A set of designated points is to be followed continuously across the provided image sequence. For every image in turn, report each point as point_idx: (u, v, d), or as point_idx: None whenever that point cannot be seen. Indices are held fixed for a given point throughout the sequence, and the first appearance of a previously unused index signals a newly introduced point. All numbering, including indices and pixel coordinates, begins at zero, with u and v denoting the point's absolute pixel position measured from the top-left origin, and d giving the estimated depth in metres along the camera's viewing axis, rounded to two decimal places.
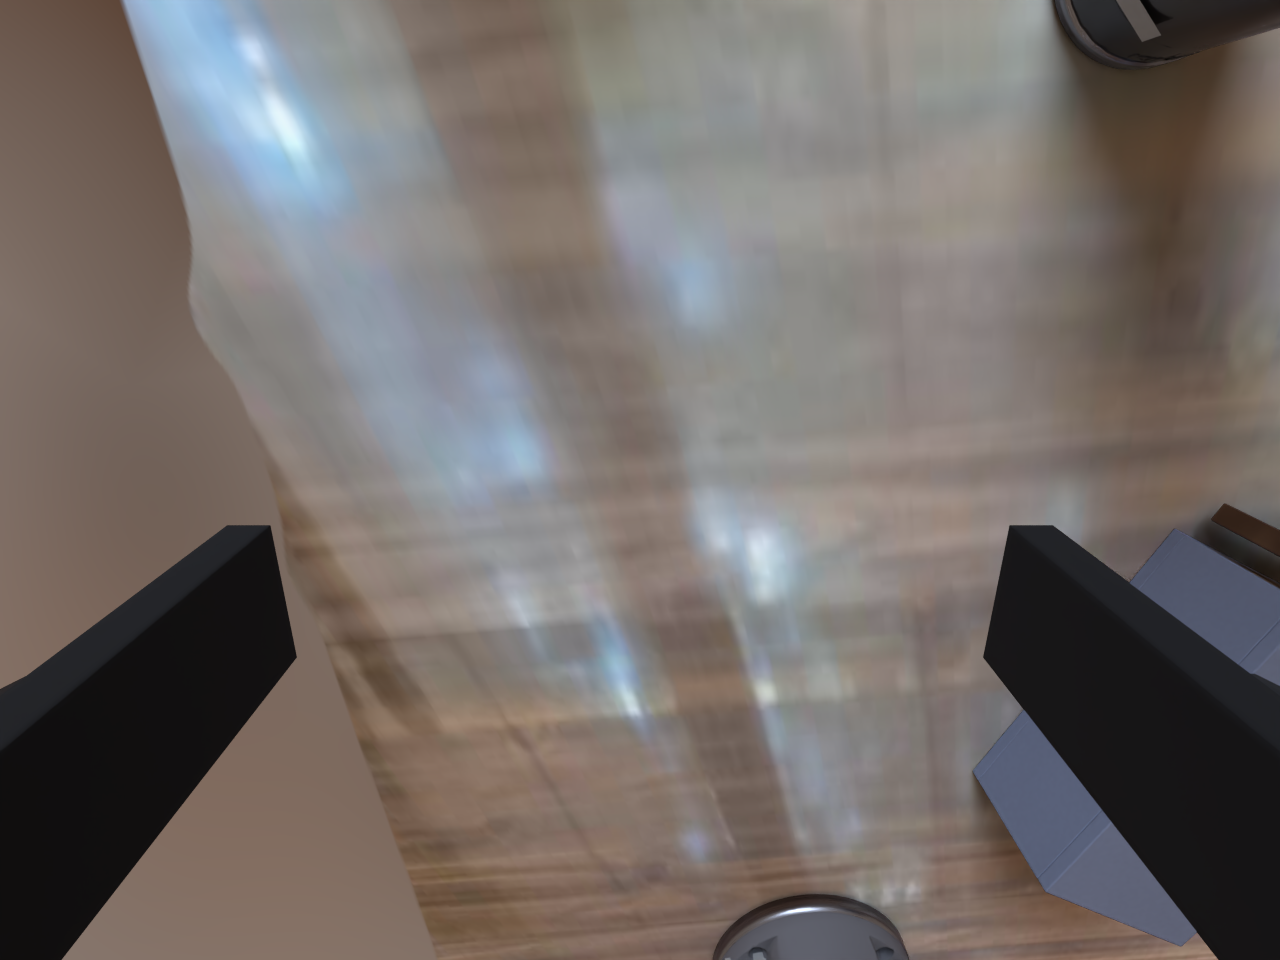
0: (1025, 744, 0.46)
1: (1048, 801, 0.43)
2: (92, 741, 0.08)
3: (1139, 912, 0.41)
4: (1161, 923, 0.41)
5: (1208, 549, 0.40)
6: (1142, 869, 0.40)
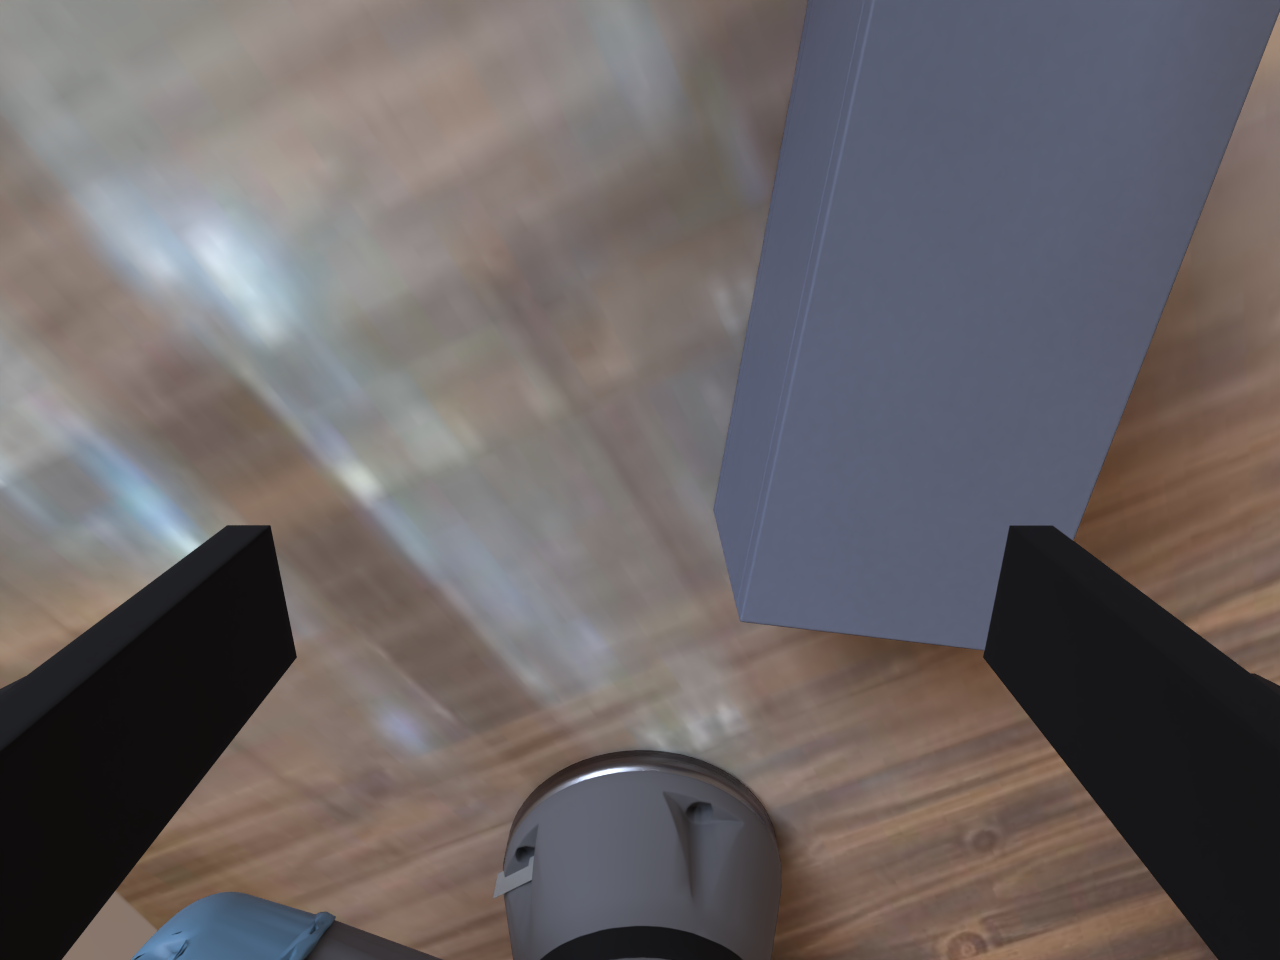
0: (735, 431, 0.29)
1: (743, 488, 0.26)
2: (92, 741, 0.08)
3: (918, 612, 0.24)
4: (969, 623, 0.24)
5: None
6: (879, 532, 0.23)
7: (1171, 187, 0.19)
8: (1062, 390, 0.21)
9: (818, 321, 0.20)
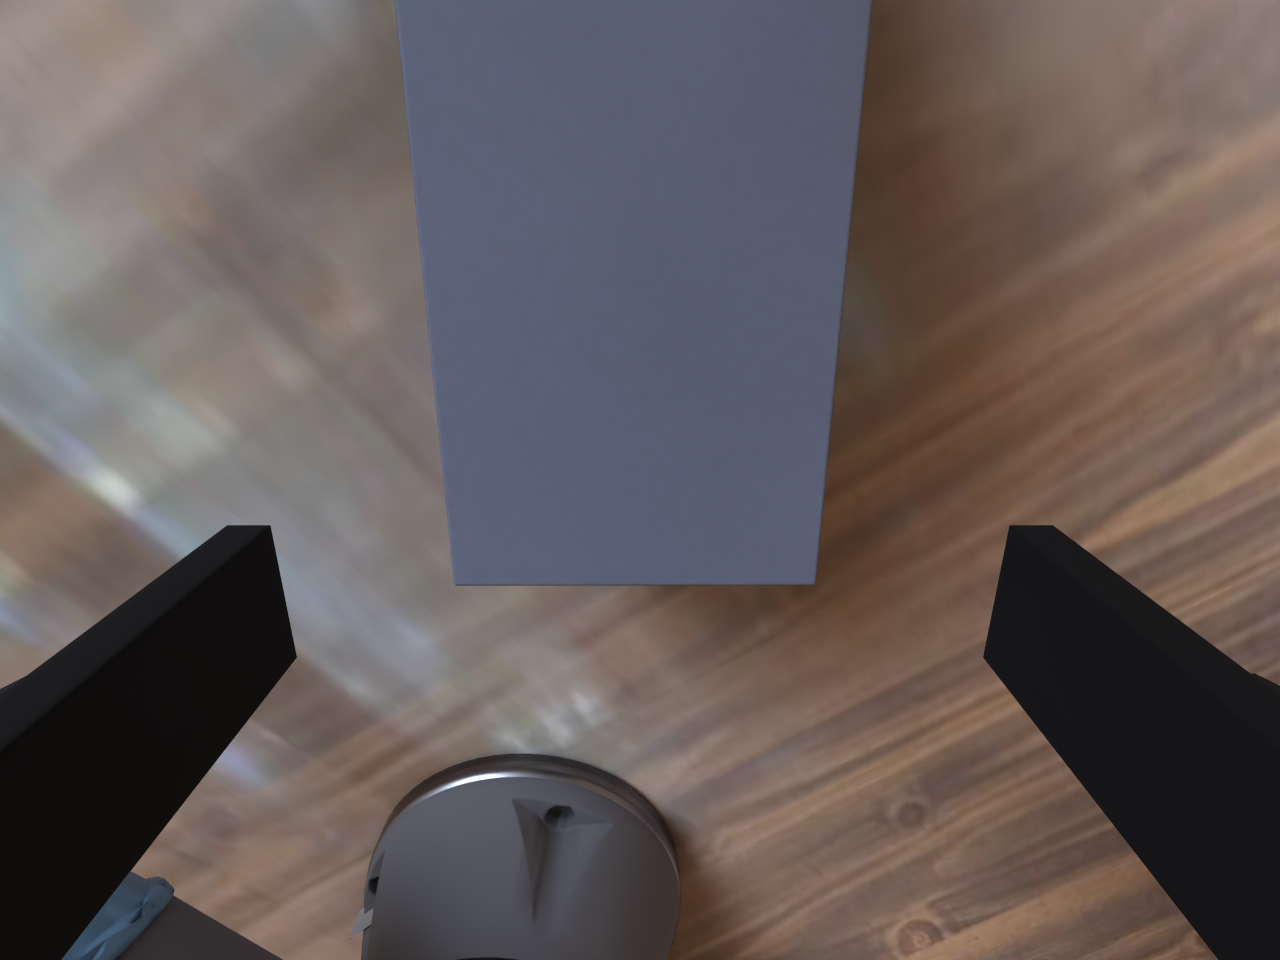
0: None
1: None
2: (92, 741, 0.08)
3: (664, 547, 0.19)
4: (731, 554, 0.19)
5: None
6: (587, 454, 0.18)
7: None
8: (761, 240, 0.17)
9: (431, 193, 0.16)
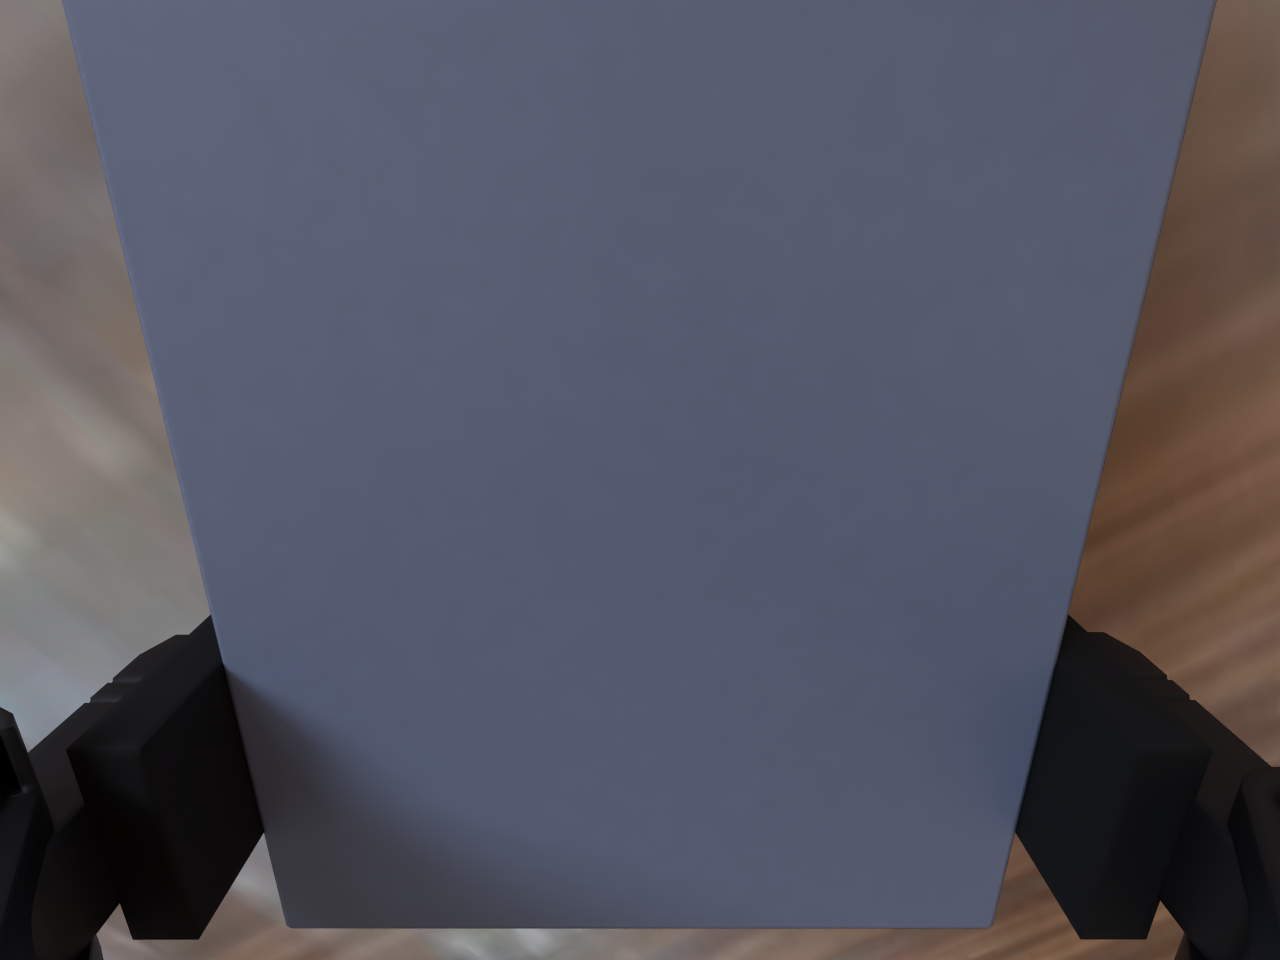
0: None
1: None
2: None
3: (699, 869, 0.10)
4: (830, 879, 0.10)
5: None
6: (540, 706, 0.09)
7: None
8: (944, 260, 0.07)
9: (136, 146, 0.07)
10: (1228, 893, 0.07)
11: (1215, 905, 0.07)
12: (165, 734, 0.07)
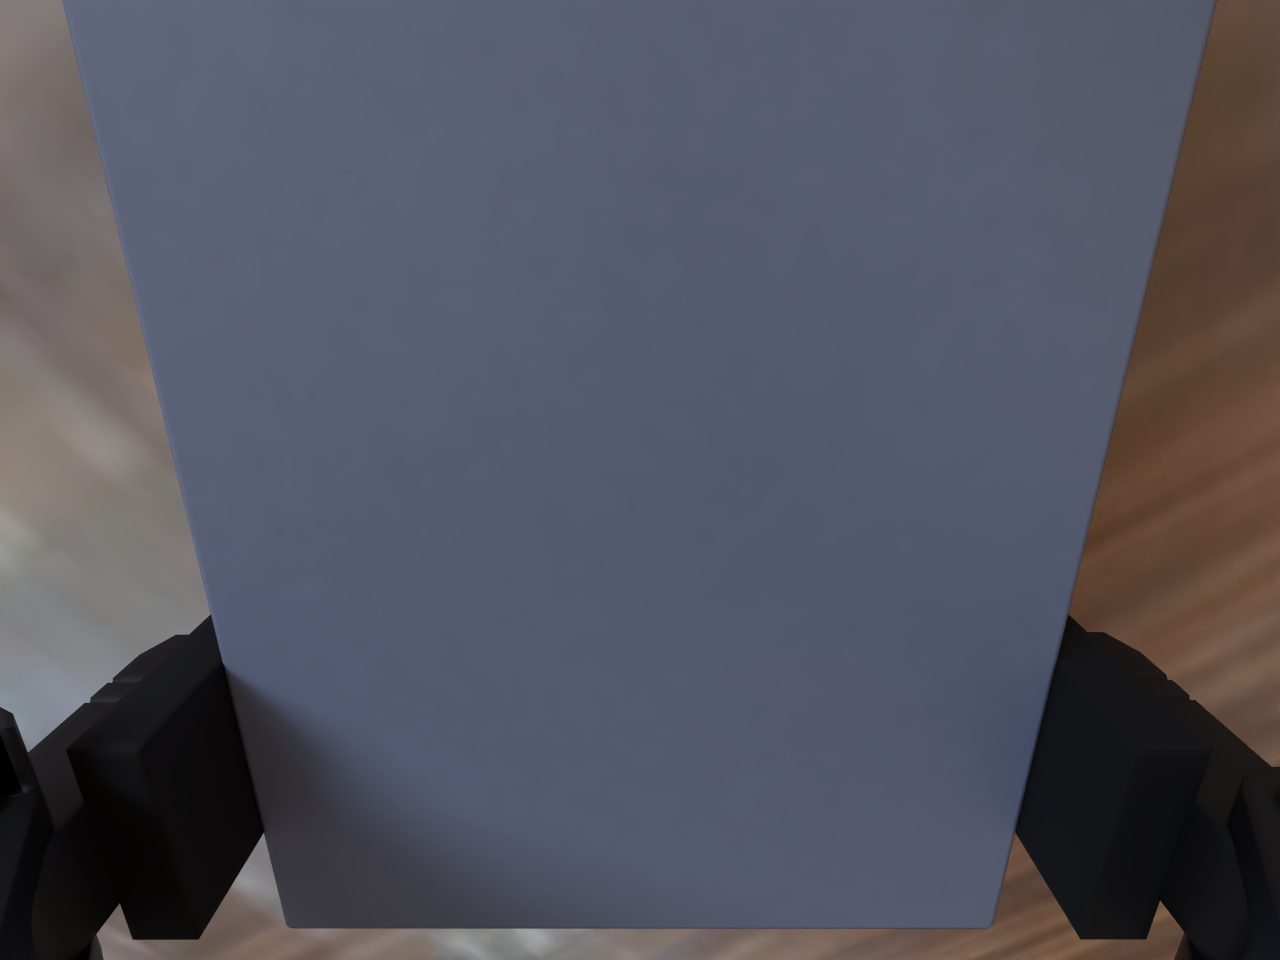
0: None
1: None
2: None
3: (699, 869, 0.10)
4: (830, 879, 0.10)
5: None
6: (540, 706, 0.09)
7: None
8: (944, 260, 0.07)
9: (138, 145, 0.07)
10: (1228, 893, 0.07)
11: (1215, 905, 0.07)
12: (165, 734, 0.07)
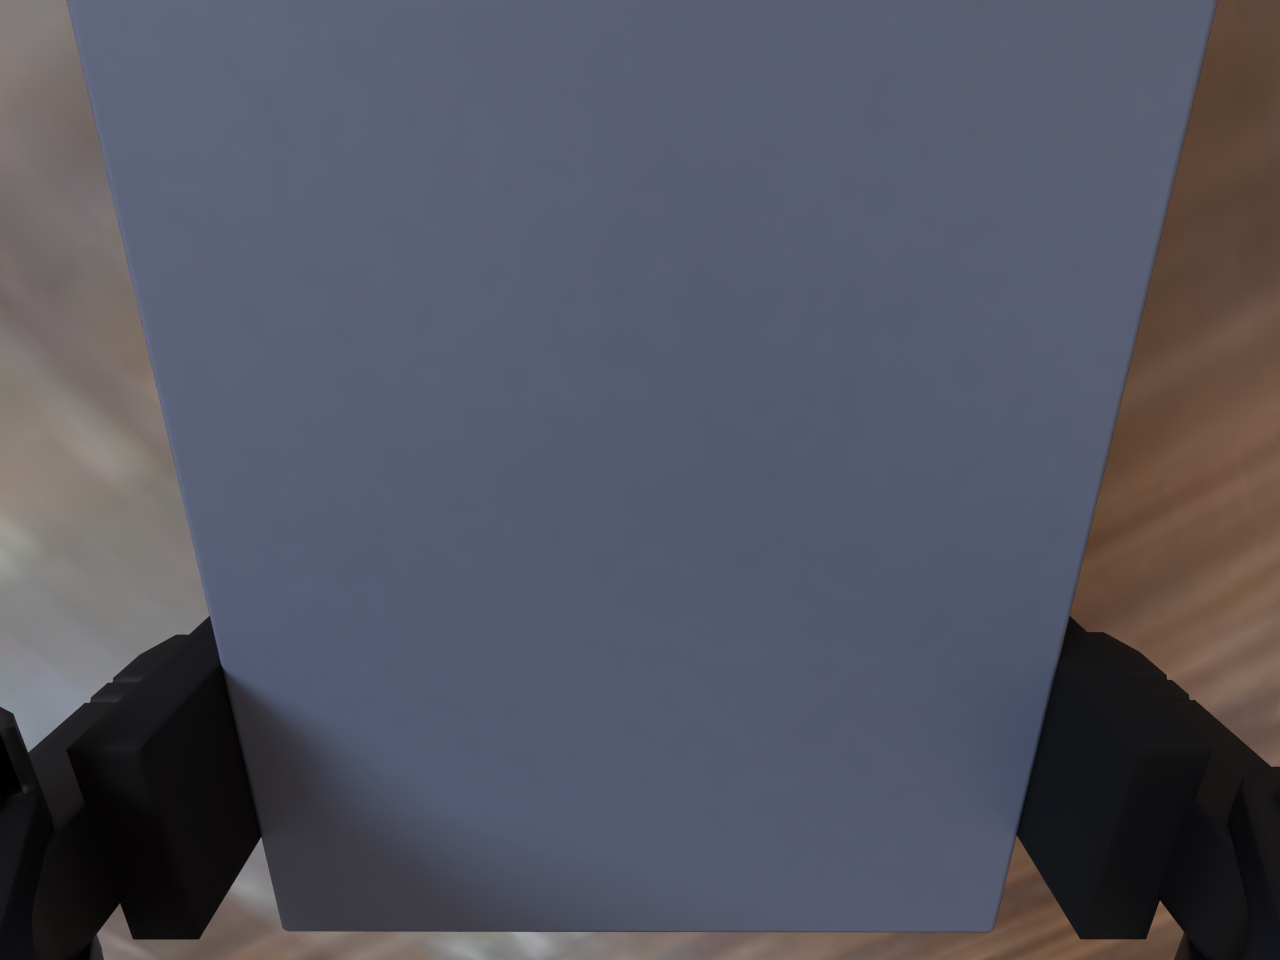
0: None
1: None
2: None
3: (699, 871, 0.10)
4: (831, 882, 0.10)
5: None
6: (540, 706, 0.09)
7: None
8: (947, 258, 0.07)
9: (139, 140, 0.07)
10: (1228, 893, 0.07)
11: (1215, 905, 0.07)
12: (165, 733, 0.07)
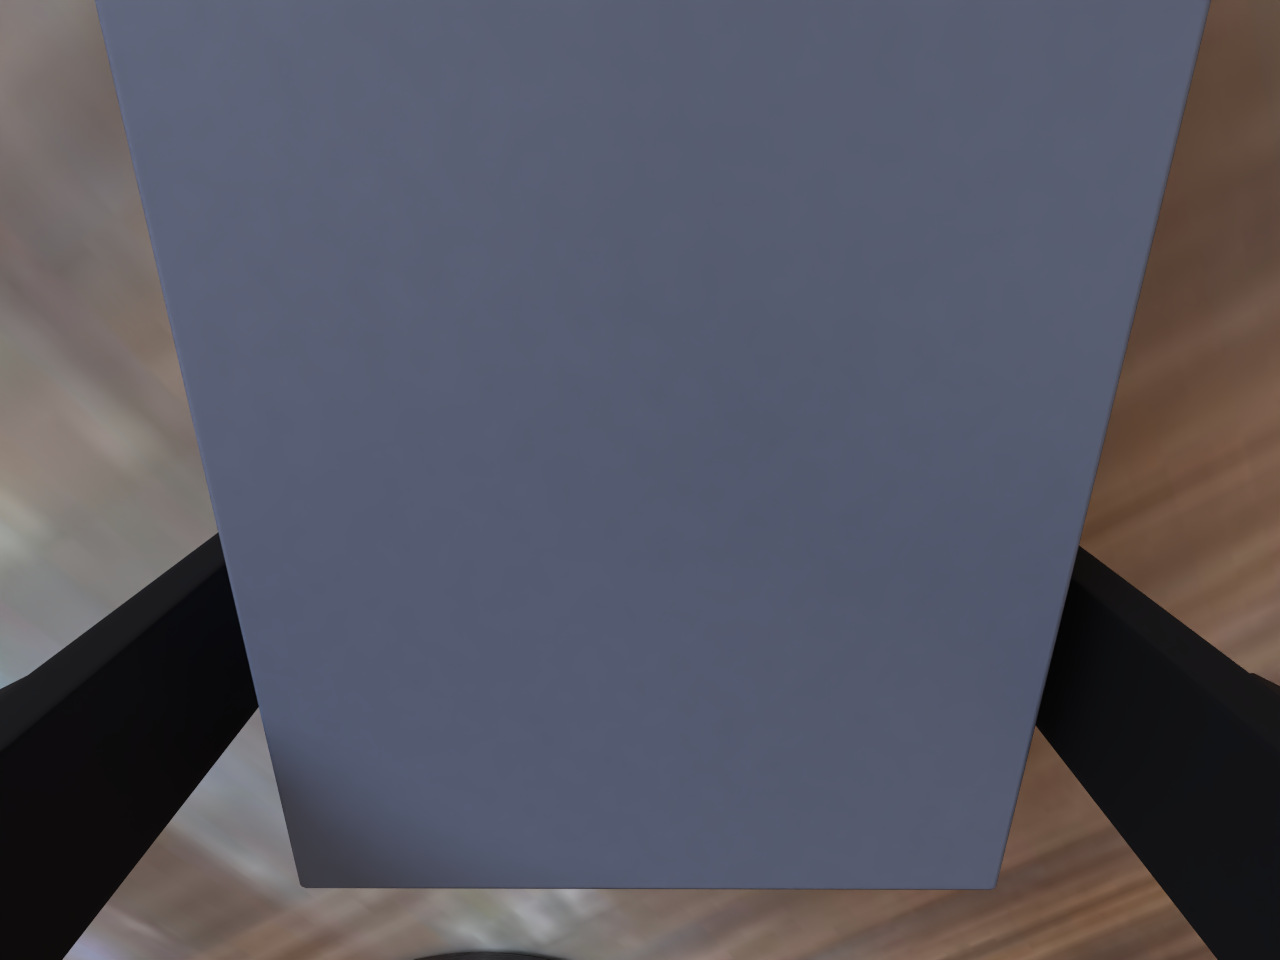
0: None
1: None
2: (93, 740, 0.08)
3: (707, 829, 0.10)
4: (836, 839, 0.10)
5: None
6: (551, 665, 0.09)
7: None
8: (952, 217, 0.07)
9: (157, 103, 0.07)
10: None
11: None
12: None
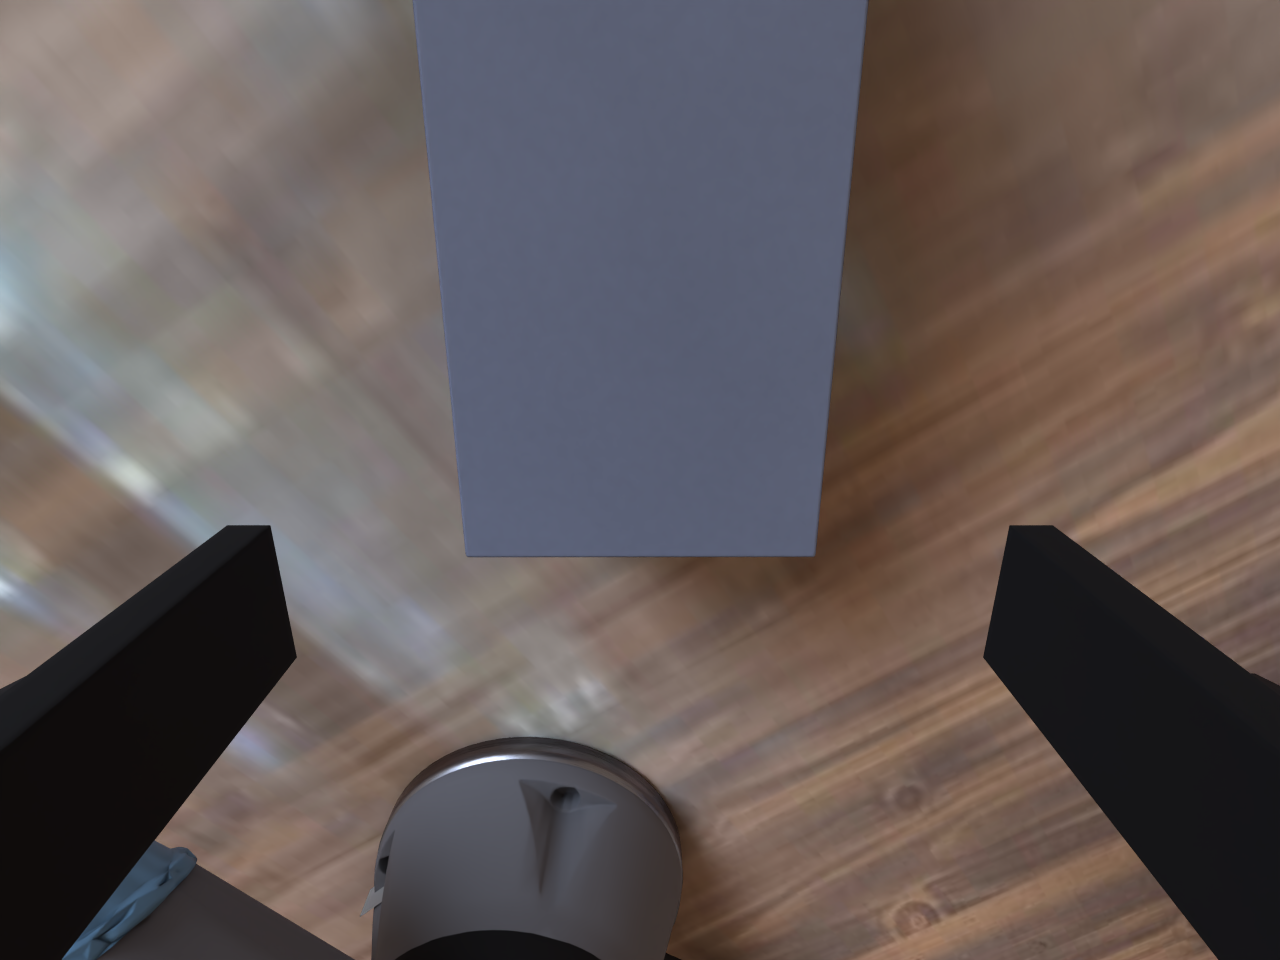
0: None
1: None
2: (92, 741, 0.08)
3: (669, 520, 0.20)
4: (732, 526, 0.20)
5: None
6: (594, 428, 0.19)
7: None
8: (763, 220, 0.17)
9: (445, 174, 0.17)
10: None
11: None
12: None
